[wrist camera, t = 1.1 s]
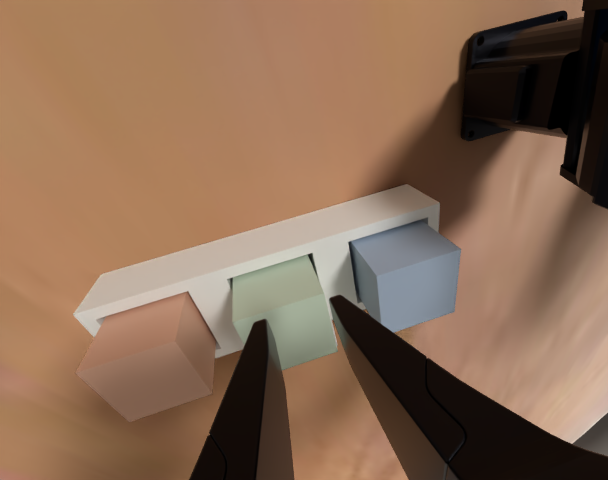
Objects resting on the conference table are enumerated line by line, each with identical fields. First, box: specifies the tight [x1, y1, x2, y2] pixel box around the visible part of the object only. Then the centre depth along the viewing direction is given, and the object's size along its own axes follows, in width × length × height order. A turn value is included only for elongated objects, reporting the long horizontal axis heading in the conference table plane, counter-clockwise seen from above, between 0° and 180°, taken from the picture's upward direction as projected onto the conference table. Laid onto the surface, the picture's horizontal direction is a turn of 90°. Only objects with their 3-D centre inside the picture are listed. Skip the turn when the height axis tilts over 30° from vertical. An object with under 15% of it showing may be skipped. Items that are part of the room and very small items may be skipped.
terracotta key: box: [75, 291, 216, 422], centre depth 17 cm, size 5×5×5 cm
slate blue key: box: [348, 220, 461, 332], centre depth 19 cm, size 5×5×5 cm
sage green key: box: [233, 255, 338, 370], centre depth 18 cm, size 5×5×5 cm
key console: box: [73, 184, 440, 358], centre depth 21 cm, size 23×7×4 cm, turn 102°
